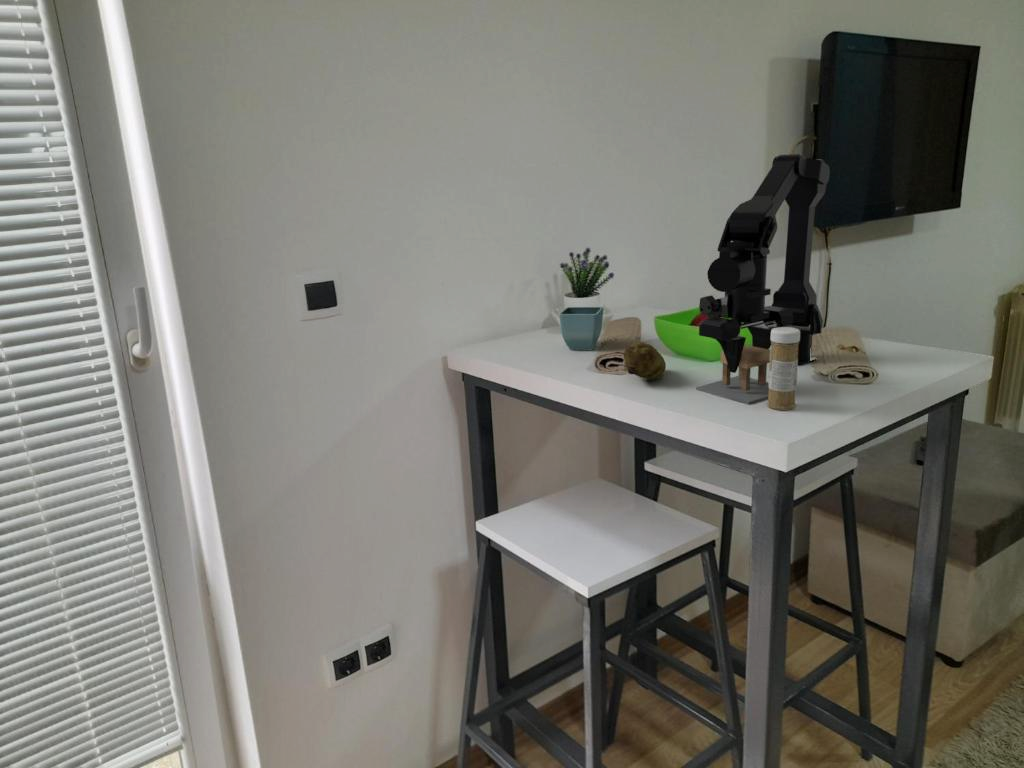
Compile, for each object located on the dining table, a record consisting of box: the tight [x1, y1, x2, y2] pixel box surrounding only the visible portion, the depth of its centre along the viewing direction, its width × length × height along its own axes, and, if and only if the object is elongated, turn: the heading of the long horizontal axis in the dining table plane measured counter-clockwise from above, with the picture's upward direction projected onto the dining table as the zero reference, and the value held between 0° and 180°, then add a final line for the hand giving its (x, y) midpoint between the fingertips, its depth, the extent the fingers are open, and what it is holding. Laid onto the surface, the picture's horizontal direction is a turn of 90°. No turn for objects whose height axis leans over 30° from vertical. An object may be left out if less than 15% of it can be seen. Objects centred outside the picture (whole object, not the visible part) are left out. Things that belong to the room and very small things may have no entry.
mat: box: [695, 375, 769, 405], centre depth 135 cm, size 12×12×1 cm
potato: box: [623, 341, 667, 381], centre depth 143 cm, size 8×13×8 cm, turn 136°
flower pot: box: [558, 306, 604, 351], centre depth 170 cm, size 9×9×9 cm
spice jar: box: [766, 327, 800, 411], centre depth 123 cm, size 5×5×13 cm
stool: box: [720, 343, 771, 391], centre depth 134 cm, size 6×6×7 cm
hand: (744, 369), depth 134 cm, fingers closed on stool, 6 cm apart
